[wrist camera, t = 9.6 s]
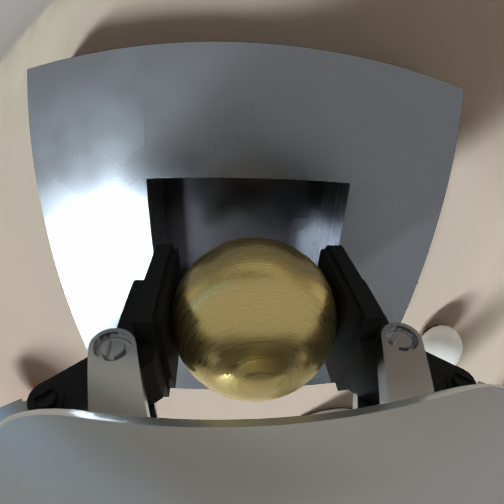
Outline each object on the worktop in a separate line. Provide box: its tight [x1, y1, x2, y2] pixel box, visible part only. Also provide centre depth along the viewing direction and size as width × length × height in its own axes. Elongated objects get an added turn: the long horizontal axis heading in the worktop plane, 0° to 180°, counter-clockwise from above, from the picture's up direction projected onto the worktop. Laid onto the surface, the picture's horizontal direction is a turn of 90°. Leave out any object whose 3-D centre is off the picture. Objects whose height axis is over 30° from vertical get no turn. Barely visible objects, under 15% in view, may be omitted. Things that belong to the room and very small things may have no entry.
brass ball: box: [171, 237, 337, 402], centre depth 9 cm, size 5×5×5 cm
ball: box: [421, 325, 462, 365], centre depth 18 cm, size 4×4×4 cm
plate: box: [27, 42, 464, 389], centre depth 13 cm, size 16×16×3 cm
